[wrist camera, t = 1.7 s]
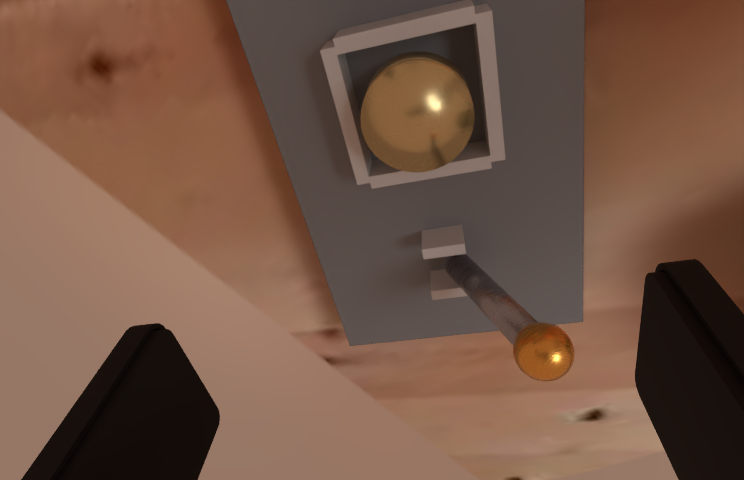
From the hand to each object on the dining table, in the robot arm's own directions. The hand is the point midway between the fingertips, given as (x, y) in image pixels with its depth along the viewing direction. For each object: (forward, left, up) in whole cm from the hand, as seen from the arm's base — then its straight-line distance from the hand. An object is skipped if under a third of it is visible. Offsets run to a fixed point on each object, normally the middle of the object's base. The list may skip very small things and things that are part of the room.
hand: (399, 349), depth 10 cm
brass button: (0, 0, -16) cm, 16 cm away
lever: (0, +10, -18) cm, 20 cm away
